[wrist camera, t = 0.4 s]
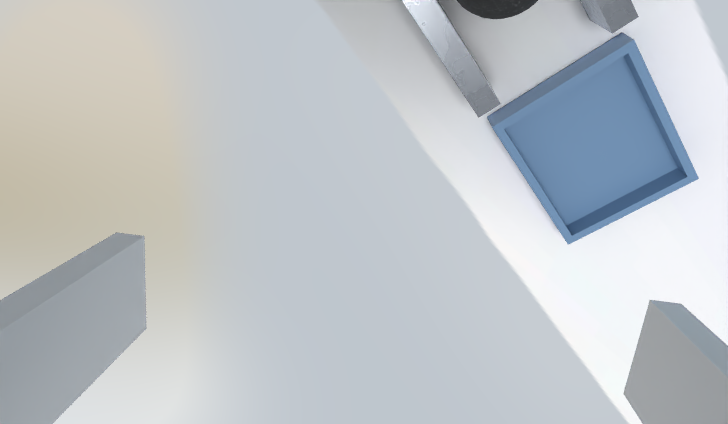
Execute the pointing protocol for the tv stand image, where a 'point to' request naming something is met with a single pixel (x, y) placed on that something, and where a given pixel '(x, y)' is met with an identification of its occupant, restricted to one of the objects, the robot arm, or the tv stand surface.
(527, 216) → the tv stand surface
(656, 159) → the parts tray
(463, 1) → the black round speckled part
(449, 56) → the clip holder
